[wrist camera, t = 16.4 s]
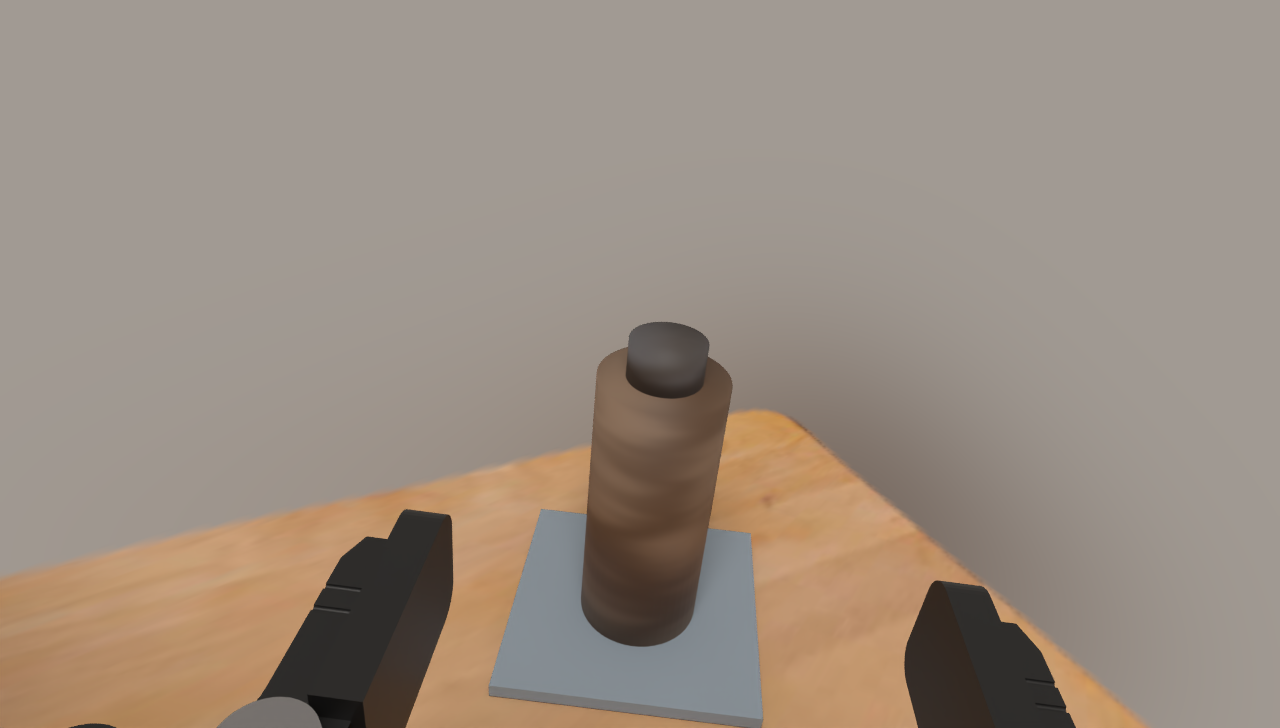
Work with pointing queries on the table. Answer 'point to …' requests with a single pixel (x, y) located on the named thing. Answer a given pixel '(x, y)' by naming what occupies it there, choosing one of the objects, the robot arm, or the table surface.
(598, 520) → the pepper mill
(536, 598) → the mat
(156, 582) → the table surface
